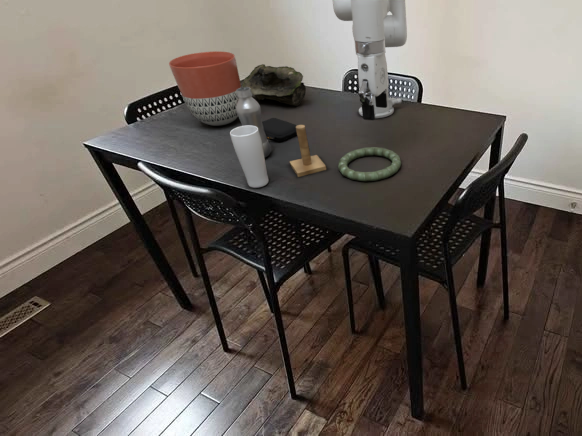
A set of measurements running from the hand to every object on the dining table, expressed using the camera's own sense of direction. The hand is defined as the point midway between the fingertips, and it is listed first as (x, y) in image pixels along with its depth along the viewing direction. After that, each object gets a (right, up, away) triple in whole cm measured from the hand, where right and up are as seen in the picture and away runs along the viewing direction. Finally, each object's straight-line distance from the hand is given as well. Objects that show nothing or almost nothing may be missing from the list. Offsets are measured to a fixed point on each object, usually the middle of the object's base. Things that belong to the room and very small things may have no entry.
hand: (375, 113), depth 114 cm
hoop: (-2, -14, +1) cm, 14 cm away
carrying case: (-35, -1, +22) cm, 41 cm away
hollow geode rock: (-42, +16, +47) cm, 64 cm away
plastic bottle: (-35, -11, +9) cm, 37 cm away
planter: (-57, +4, +31) cm, 65 cm away
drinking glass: (-30, -20, -4) cm, 37 cm away
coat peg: (-19, -15, +3) cm, 24 cm away
